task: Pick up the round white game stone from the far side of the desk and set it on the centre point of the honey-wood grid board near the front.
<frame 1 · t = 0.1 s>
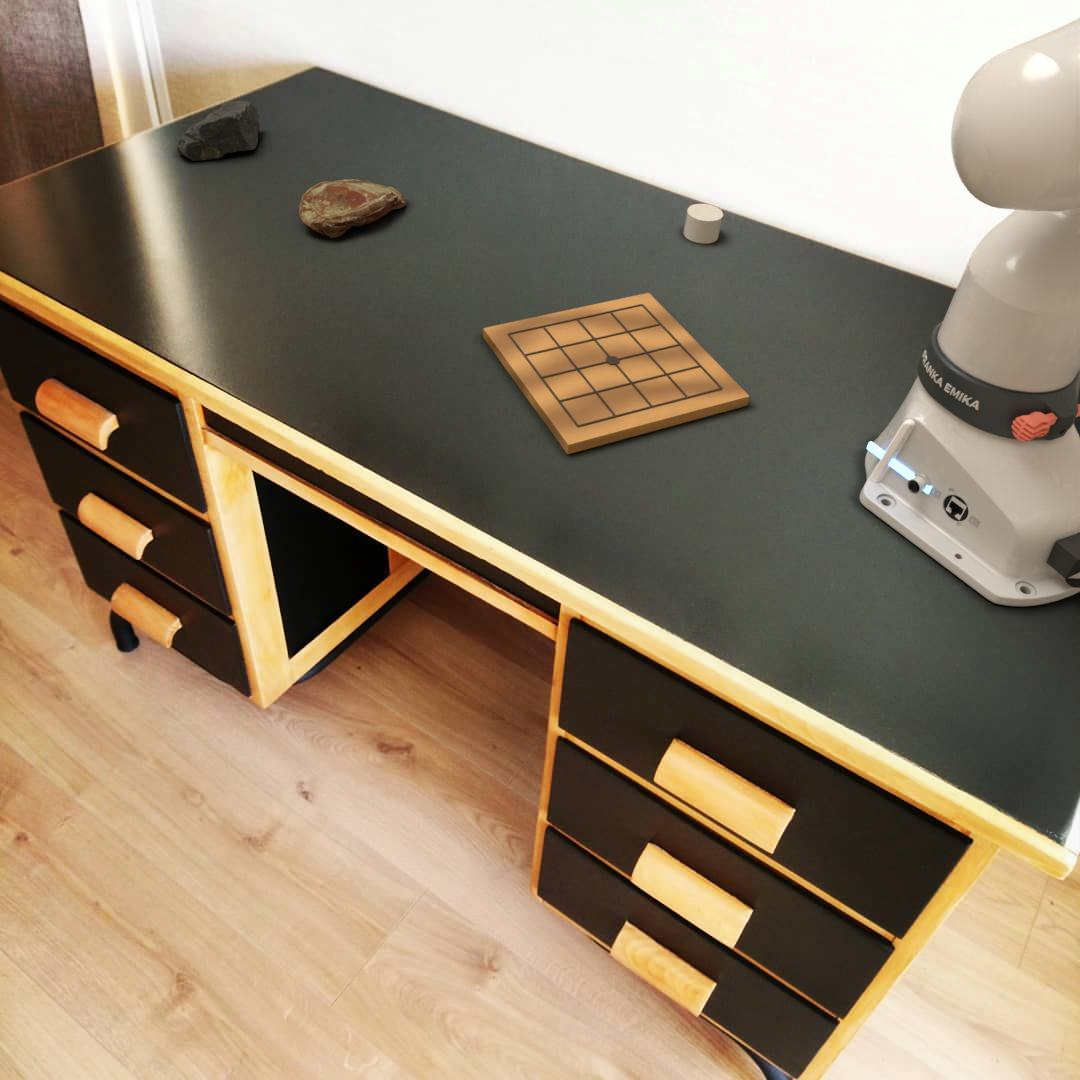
game stone: (700, 234, 116), on the table
grid board: (611, 370, 96), on the table
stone: (350, 215, 115), on the table
rock: (226, 148, 126), on the table
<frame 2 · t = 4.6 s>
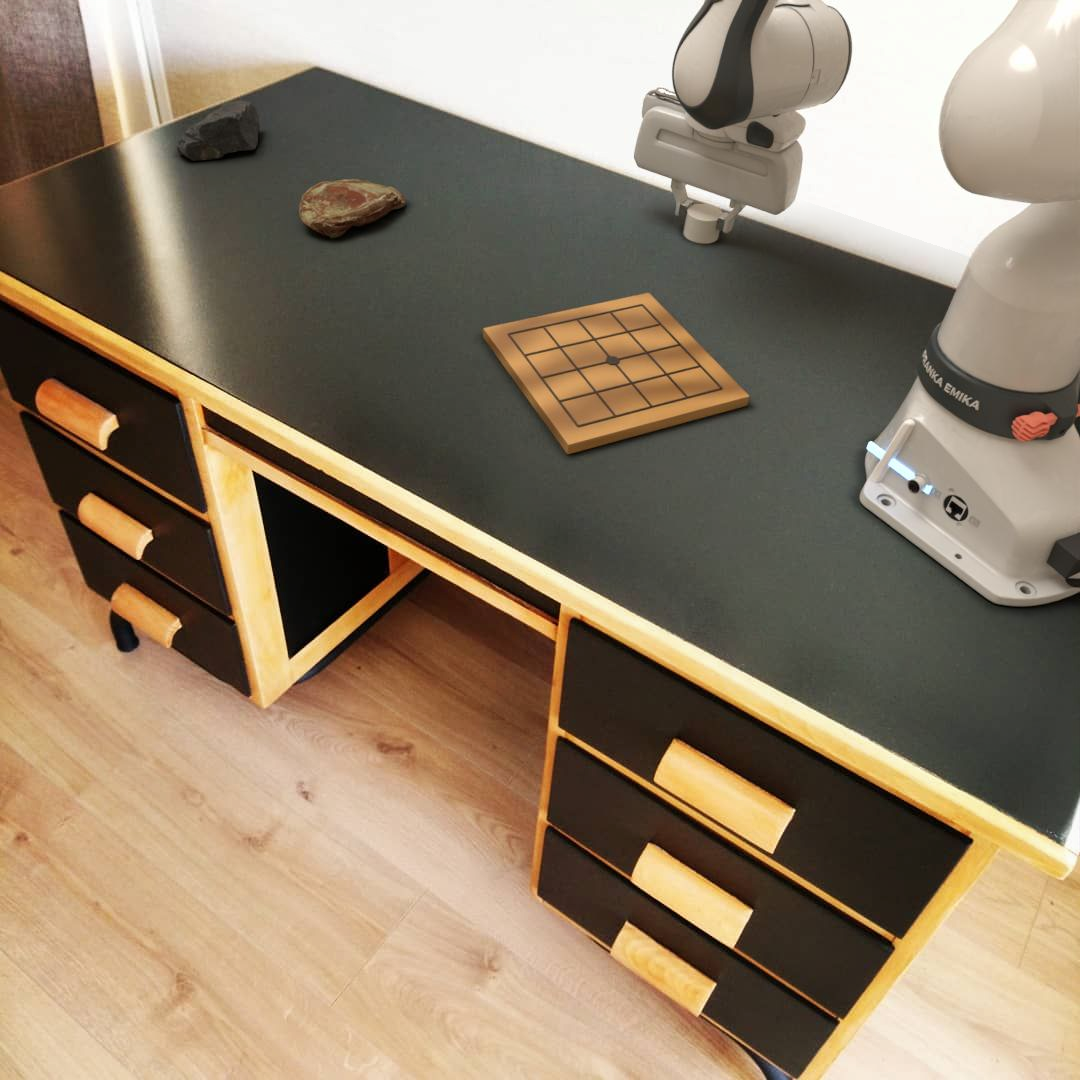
hand: (703, 222, 115), 2 cm above the table, tool pointing down, fingers closed on game stone, 4 cm apart
game stone: (700, 234, 116), on the table, touching gripper
everything else where it was.
when the fingers open (3 cm above the table, at t = 11.5 s): game stone stays where it is, resting on grid board.
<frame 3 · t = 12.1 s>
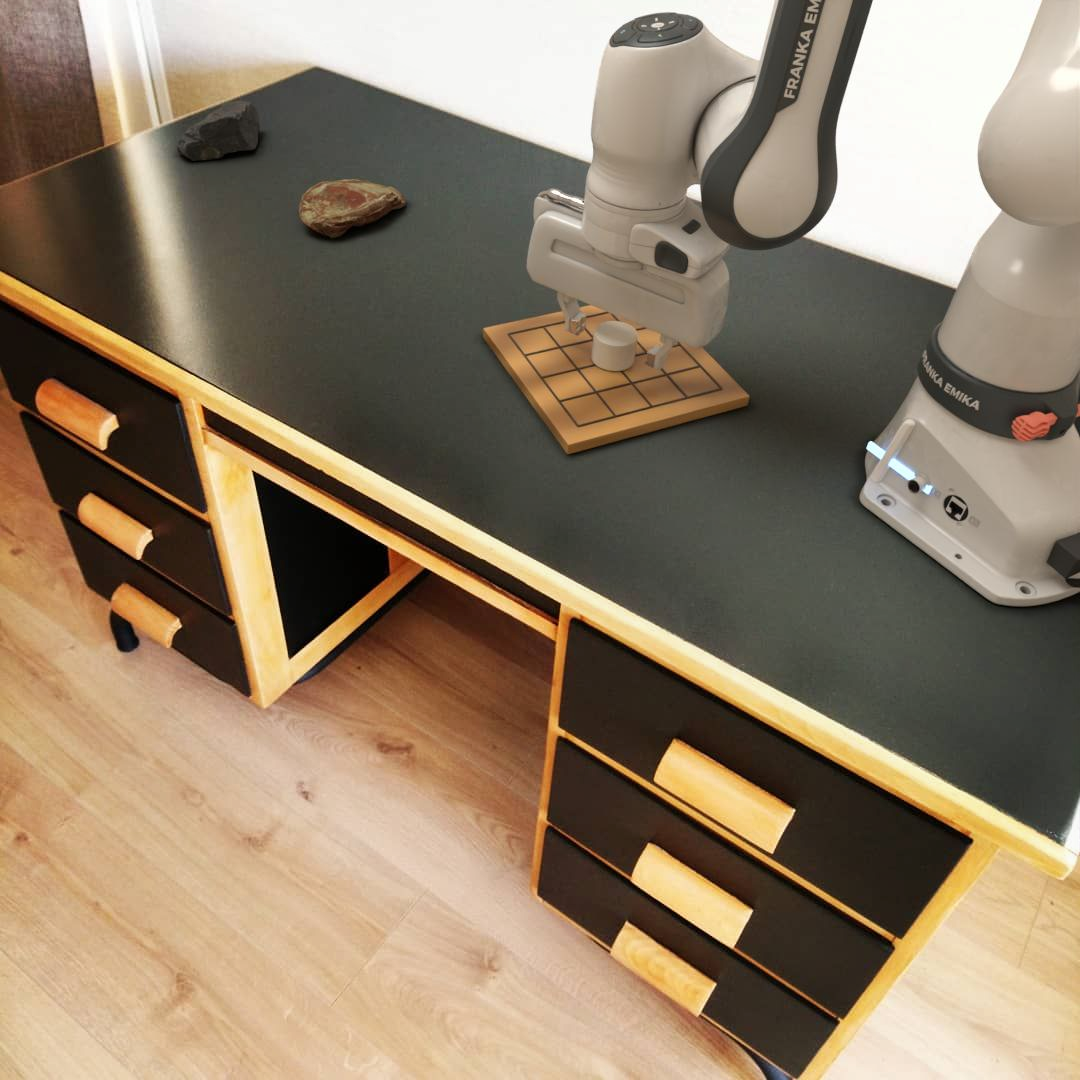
hand: (614, 347, 93), 3 cm above the table, tool pointing down, fingers open, 8 cm apart
game stone: (612, 358, 95), point 1 cm above the table, touching grid board
everything else where it was.
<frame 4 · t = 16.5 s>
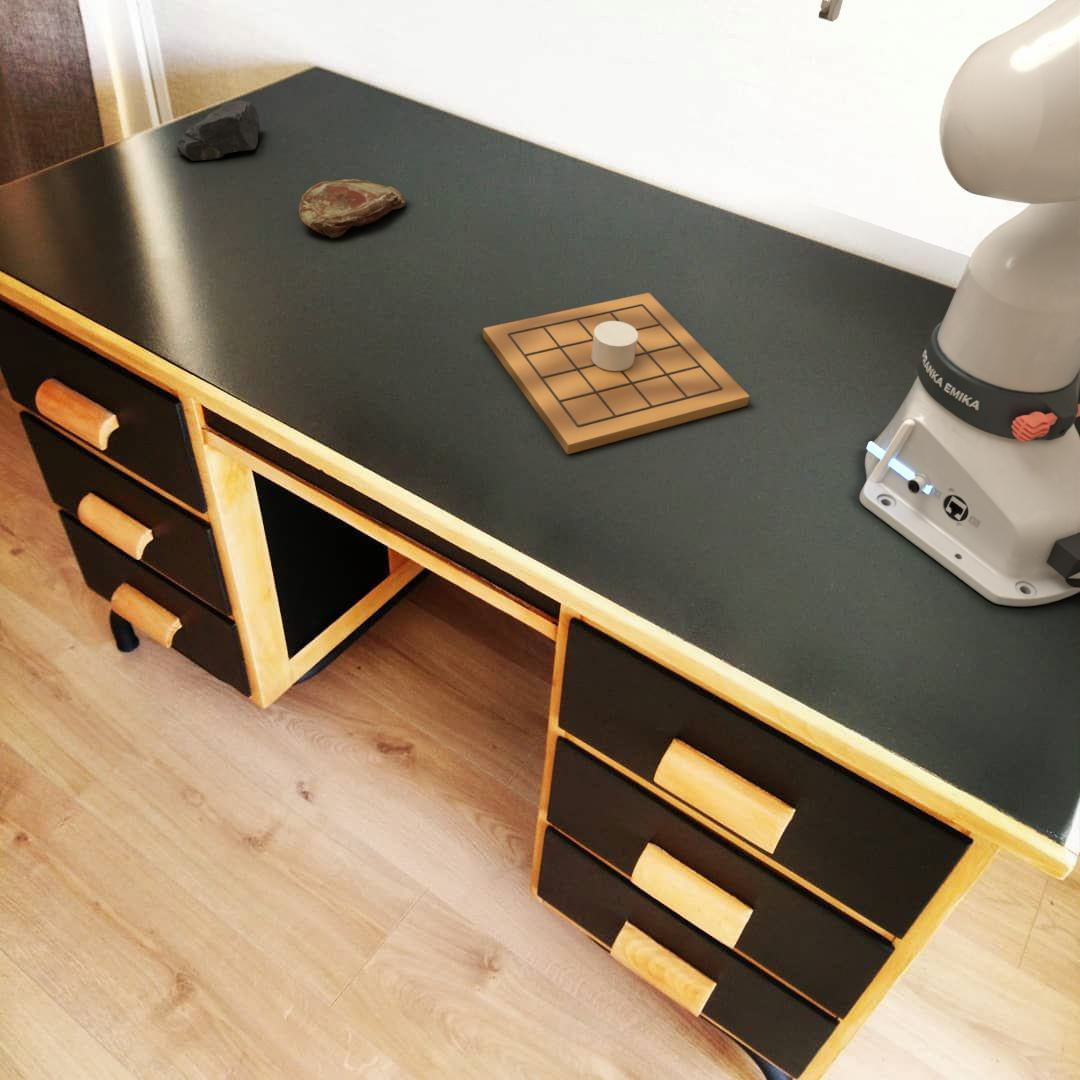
hand: (784, 7, 94), 27 cm above the table, tool pointing down, fingers open, 8 cm apart
nothing on the table moved.
at the end: game stone 0.3 cm off-centre on the grid board, point 1.3 cm above the grid board's base; game stone tilted 0°; the gripper is holding nothing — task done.
